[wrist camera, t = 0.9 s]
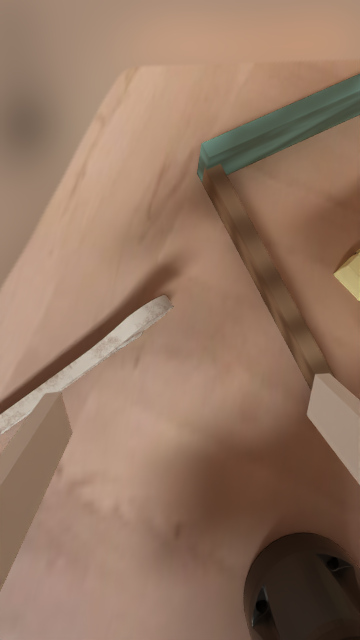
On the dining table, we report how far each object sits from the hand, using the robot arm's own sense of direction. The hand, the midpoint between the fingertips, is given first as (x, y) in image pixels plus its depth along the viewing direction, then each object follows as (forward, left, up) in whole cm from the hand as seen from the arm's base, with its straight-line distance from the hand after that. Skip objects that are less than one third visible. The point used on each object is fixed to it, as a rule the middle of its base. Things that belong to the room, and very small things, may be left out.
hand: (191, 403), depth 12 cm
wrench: (+5, +12, -19) cm, 23 cm away
